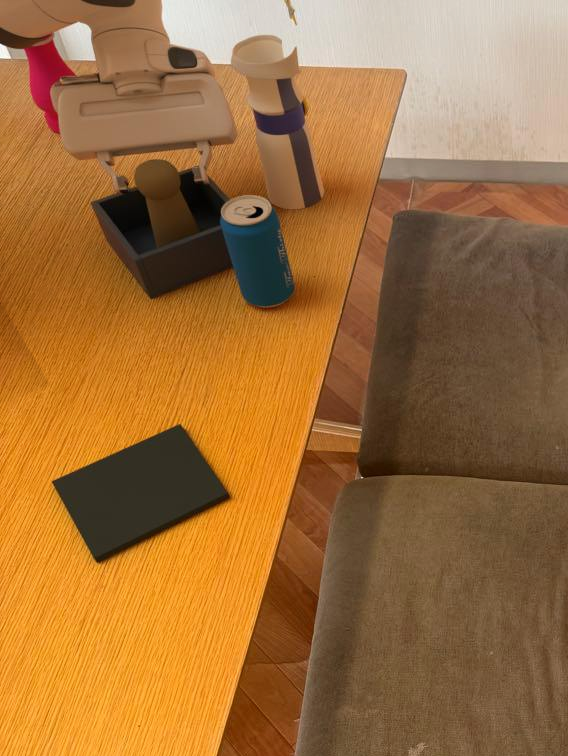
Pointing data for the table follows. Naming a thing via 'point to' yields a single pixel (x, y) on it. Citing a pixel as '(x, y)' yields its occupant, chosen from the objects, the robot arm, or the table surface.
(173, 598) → the table surface
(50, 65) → the pepper mill
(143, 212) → the bin
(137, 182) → the brown pawn
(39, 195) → the table surface
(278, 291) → the beverage can
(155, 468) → the mat
